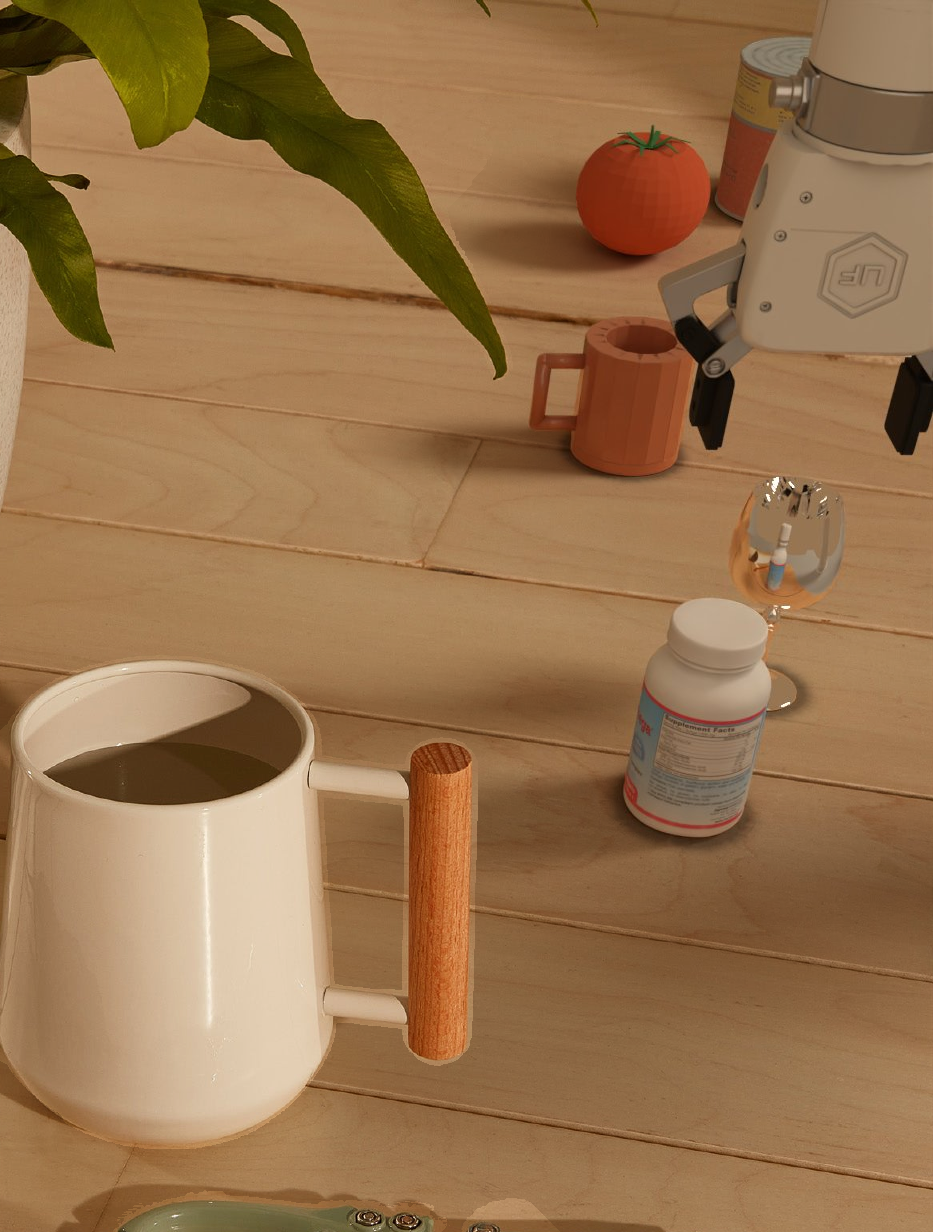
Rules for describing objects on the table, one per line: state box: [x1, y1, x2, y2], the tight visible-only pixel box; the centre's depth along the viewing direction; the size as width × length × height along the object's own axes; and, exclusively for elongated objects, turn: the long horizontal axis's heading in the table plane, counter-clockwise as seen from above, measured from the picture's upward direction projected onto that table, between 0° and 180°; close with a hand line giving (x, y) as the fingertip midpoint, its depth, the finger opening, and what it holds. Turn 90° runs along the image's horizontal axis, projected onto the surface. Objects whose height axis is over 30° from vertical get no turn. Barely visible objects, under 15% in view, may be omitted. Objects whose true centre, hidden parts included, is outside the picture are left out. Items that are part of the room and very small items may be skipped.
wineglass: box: [728, 475, 847, 712], centre depth 110 cm, size 6×6×12 cm
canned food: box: [714, 36, 812, 223], centre depth 166 cm, size 11×11×12 cm
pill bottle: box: [622, 597, 771, 838], centre depth 102 cm, size 6×6×11 cm
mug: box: [528, 315, 696, 477], centre depth 134 cm, size 10×7×8 cm
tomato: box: [575, 124, 711, 256], centre depth 159 cm, size 10×10×10 cm
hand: (802, 440), depth 105 cm, fingers open, 9 cm apart
